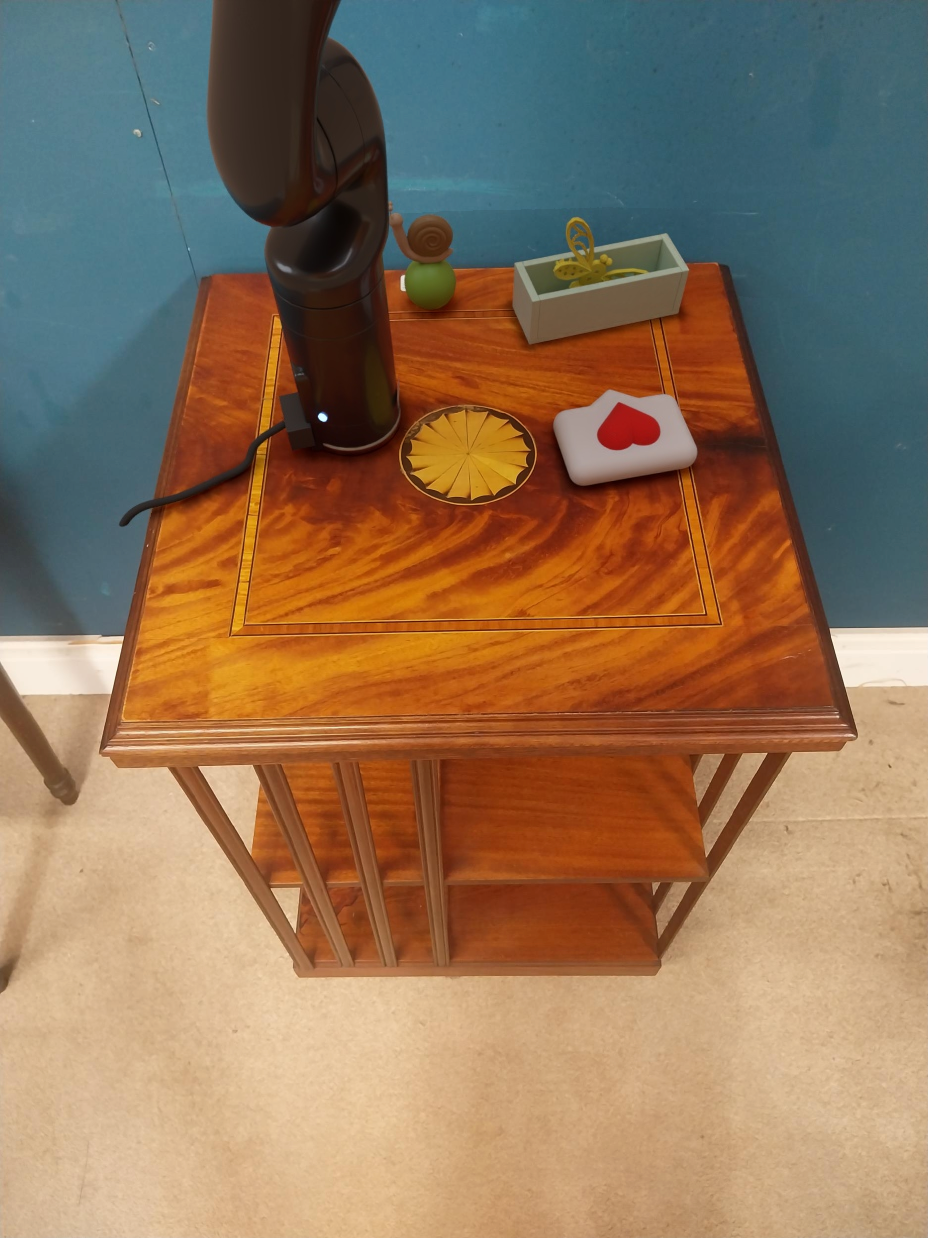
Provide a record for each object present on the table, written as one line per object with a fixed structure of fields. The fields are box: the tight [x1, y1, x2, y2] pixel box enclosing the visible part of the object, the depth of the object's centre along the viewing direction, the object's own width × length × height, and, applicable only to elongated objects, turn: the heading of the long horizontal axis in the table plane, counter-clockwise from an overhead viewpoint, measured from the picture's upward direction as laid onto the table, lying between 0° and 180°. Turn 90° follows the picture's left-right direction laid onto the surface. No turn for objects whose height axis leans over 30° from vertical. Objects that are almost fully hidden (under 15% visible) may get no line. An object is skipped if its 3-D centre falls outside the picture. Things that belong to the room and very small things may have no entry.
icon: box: [552, 389, 698, 487], centre depth 80 cm, size 12×4×10 cm
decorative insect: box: [553, 216, 649, 290], centre depth 87 cm, size 13×3×10 cm
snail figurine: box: [389, 200, 457, 311], centre depth 86 cm, size 5×6×12 cm
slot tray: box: [512, 233, 690, 345], centre depth 88 cm, size 17×6×6 cm, turn 105°
